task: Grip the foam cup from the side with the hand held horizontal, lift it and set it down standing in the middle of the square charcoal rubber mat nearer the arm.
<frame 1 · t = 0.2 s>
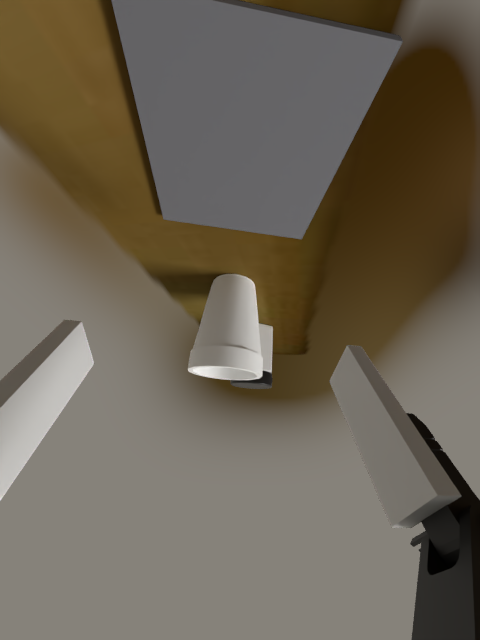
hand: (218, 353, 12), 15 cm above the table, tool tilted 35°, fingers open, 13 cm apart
charcoal mat: (243, 155, 18), on the table
foam cup: (233, 284, 35), on the table
jar: (254, 328, 51), on the table
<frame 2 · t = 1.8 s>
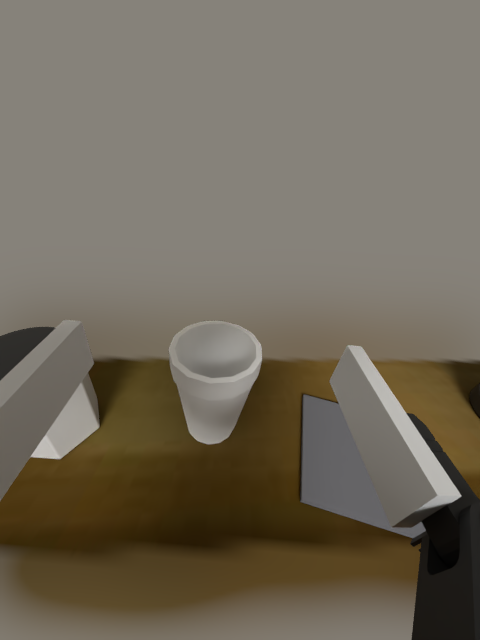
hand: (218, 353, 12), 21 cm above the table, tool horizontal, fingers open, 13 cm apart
charcoal mat: (357, 455, 30), on the table
foam cup: (211, 421, 32), on the table
jar: (62, 425, 29), on the table
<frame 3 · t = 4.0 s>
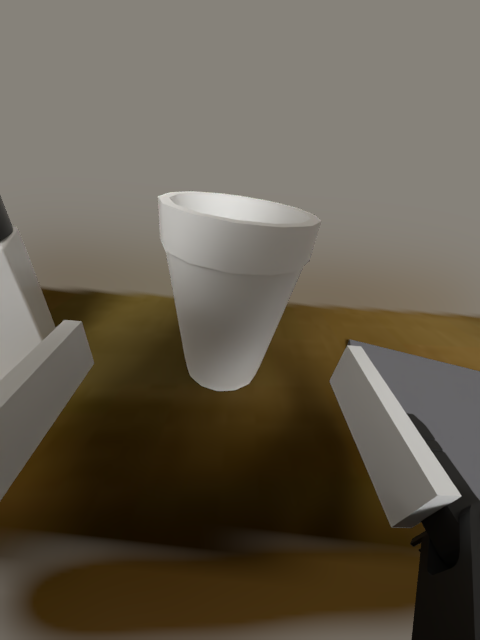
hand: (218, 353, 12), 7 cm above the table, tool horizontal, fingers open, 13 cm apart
charcoal mat: (444, 415, 20), on the table
foam cup: (222, 364, 21), on the table
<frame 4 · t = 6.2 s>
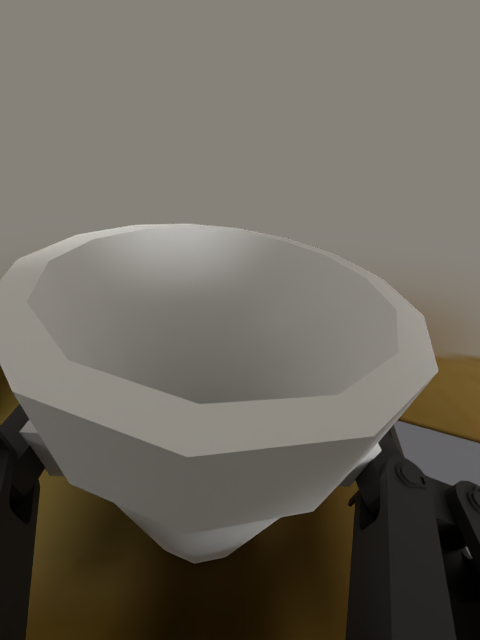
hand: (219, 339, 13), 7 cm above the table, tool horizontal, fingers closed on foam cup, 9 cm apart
foam cup: (205, 486, 14), on the table, touching gripper
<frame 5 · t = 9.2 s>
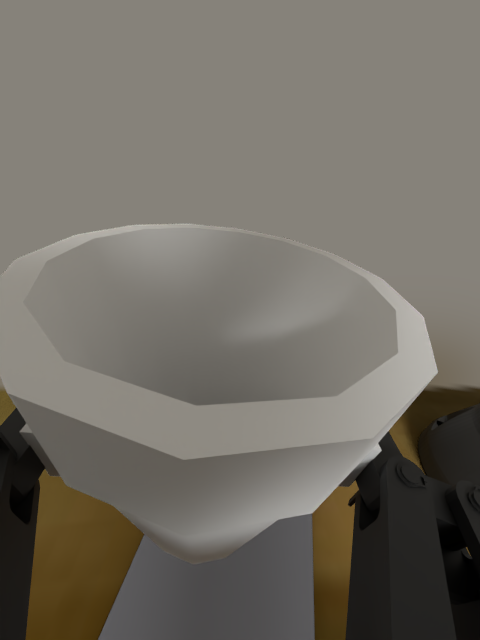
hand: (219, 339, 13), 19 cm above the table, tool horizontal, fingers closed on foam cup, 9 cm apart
charcoal mat: (227, 551, 20), on the table
foam cup: (205, 487, 14), point 12 cm above the table, touching gripper
when the fingers open (9 cm above the table, at t = 12.4 s): foam cup drops 1 cm, resting on charcoal mat.
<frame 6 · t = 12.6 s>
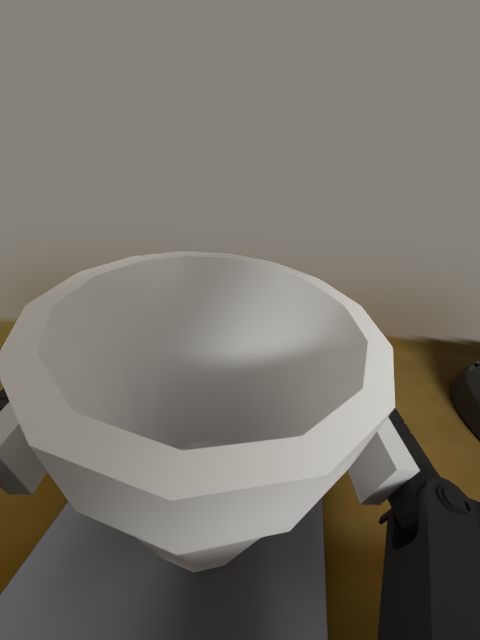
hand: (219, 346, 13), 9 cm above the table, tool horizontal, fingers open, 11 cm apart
charcoal mat: (204, 497, 14), on the table
foam cup: (204, 496, 14), resting on charcoal mat
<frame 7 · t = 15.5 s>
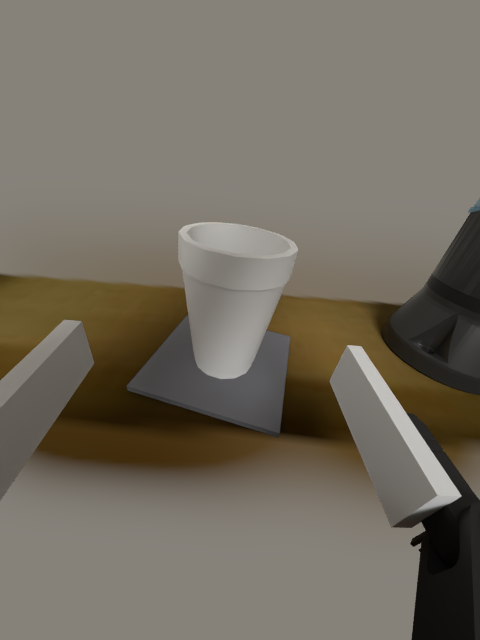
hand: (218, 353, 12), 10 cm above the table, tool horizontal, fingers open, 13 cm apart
charcoal mat: (223, 360, 27), on the table
foam cup: (223, 358, 26), resting on charcoal mat
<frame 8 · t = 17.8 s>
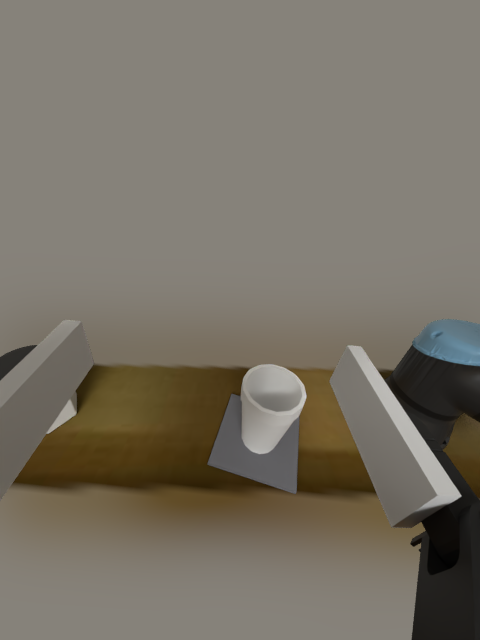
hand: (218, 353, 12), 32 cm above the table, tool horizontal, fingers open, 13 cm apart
charcoal mat: (258, 437, 42), on the table
foam cup: (258, 436, 42), resting on charcoal mat
jar: (50, 412, 42), on the table
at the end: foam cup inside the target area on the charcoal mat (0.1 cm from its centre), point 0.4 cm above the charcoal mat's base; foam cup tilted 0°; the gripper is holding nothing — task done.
